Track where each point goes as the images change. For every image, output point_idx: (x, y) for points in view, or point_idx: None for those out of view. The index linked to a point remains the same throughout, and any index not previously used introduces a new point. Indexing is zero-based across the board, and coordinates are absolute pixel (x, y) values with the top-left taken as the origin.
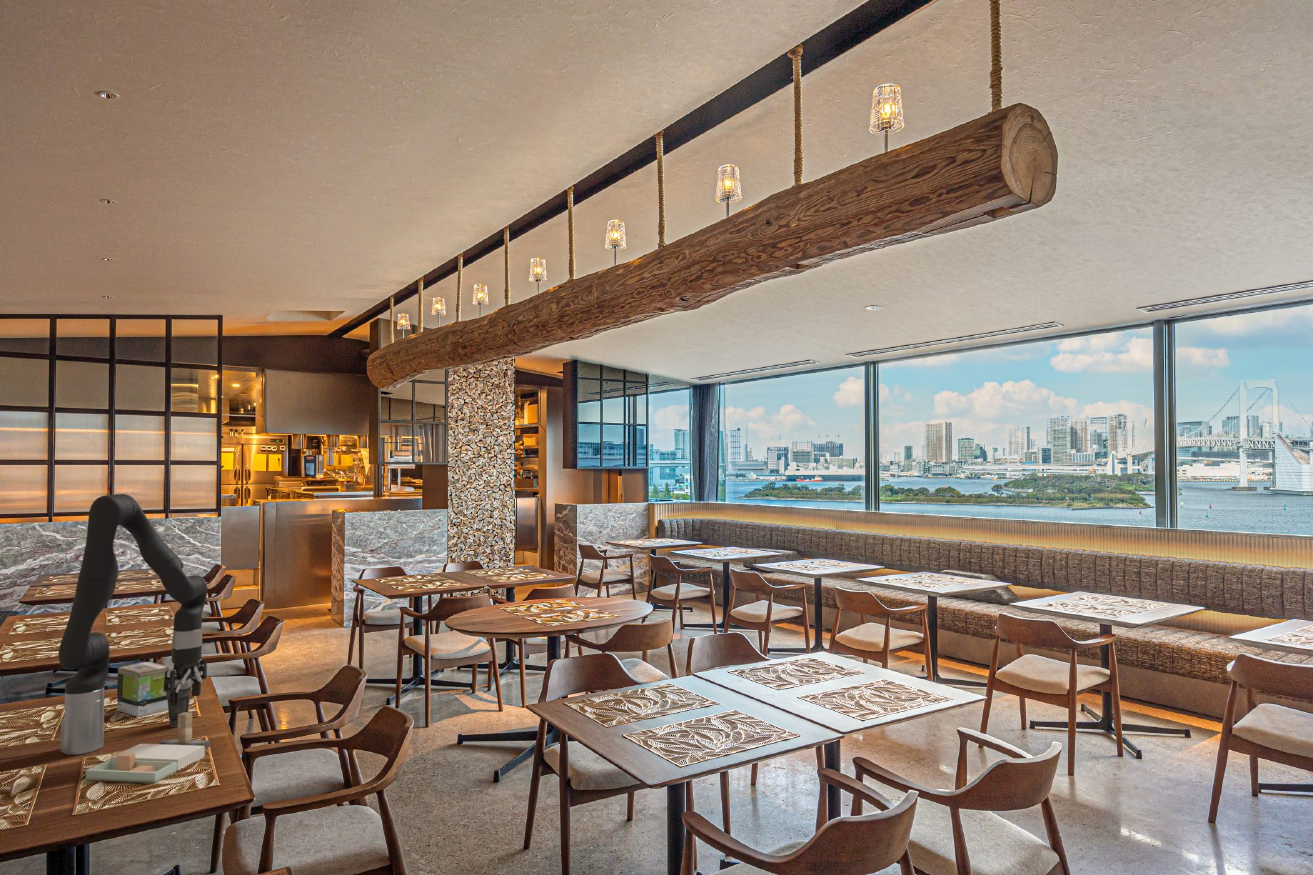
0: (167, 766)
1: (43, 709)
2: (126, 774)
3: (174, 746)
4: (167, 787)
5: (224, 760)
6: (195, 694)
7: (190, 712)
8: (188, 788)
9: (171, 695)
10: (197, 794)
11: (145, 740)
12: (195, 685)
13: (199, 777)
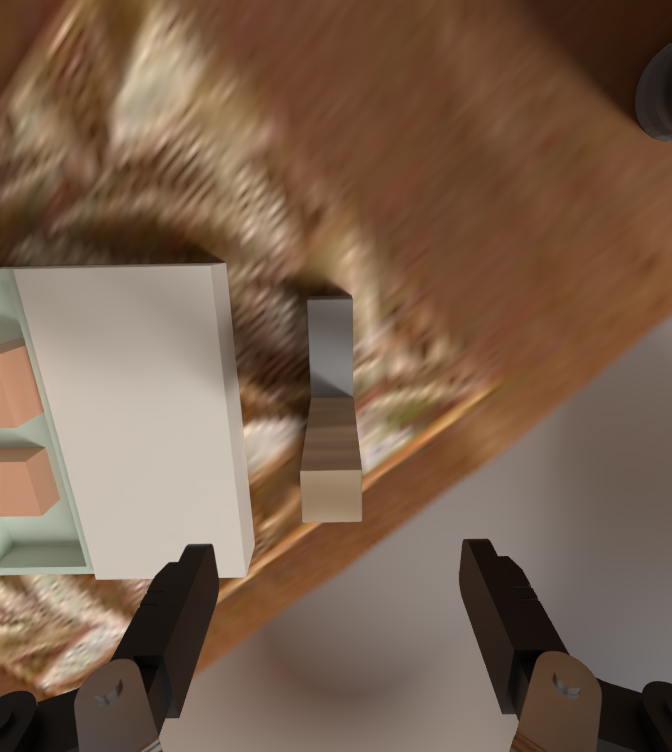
0: (49, 571)
1: None
2: None
3: (213, 466)
4: (4, 604)
5: (236, 622)
6: (466, 574)
7: (357, 512)
8: (24, 658)
9: (133, 648)
10: None
11: (410, 108)
12: (499, 659)
13: (98, 638)
